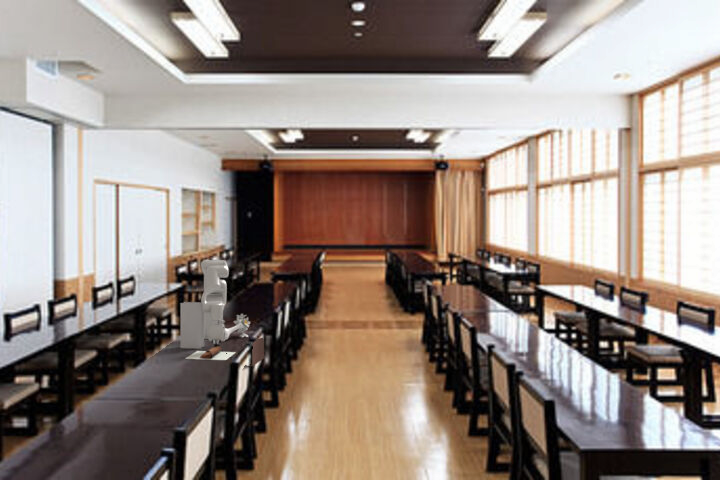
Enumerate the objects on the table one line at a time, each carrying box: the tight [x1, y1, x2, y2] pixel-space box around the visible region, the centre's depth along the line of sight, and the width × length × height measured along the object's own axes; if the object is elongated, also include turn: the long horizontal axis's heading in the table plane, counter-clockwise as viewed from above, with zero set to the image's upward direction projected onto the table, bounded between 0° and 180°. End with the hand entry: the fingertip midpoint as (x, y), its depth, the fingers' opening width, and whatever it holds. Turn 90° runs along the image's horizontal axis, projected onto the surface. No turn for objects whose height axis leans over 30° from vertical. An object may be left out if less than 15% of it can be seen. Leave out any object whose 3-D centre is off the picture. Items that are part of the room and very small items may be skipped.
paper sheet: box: [184, 350, 237, 361], centre depth 352 cm, size 20×26×1 cm
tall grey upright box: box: [180, 301, 205, 350], centre depth 372 cm, size 14×6×30 cm, turn 84°
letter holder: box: [236, 337, 265, 367], centre depth 337 cm, size 10×20×14 cm, turn 170°
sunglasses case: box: [200, 345, 222, 360], centre depth 352 cm, size 18×7×7 cm
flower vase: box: [225, 313, 251, 341], centre depth 402 cm, size 13×18×25 cm
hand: (216, 349), depth 362 cm, fingers closed
